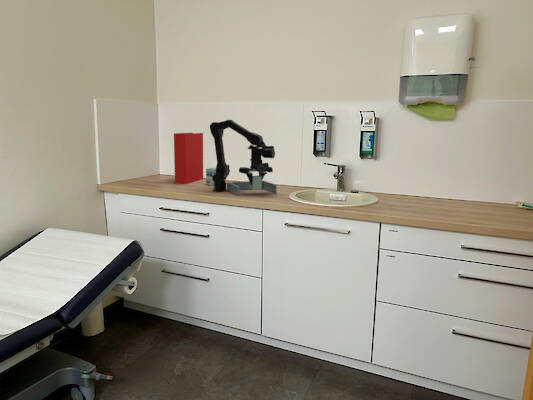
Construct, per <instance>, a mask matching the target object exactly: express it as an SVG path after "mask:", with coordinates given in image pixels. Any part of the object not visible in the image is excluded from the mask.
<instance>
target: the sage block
mask: <svg viewBox="0 0 533 400" xmlns="http://www.w3.org/2000/svg"><path fill="white" fill-rule="evenodd" d="M262 181H263V180H262V177H261V176H259V175H252V185H251V184H250V188H251V189H255V190H263V189H262Z"/></svg>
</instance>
